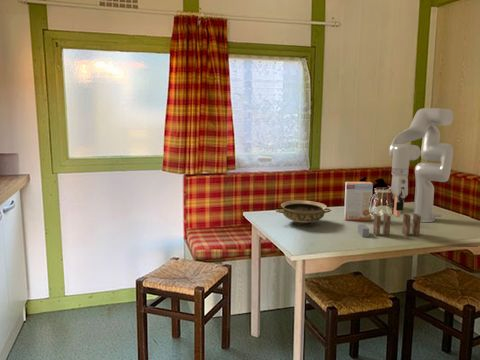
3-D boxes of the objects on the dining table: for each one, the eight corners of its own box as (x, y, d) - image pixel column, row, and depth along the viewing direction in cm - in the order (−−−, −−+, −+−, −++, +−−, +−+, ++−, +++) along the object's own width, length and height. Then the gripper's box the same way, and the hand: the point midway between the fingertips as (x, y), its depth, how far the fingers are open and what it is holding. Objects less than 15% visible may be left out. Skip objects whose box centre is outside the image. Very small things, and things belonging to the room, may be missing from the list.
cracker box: (369, 218, 247) (371, 181, 243) (371, 221, 241) (373, 183, 237) (343, 217, 248) (345, 180, 245) (345, 220, 242) (346, 182, 239)
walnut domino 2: (386, 233, 220) (387, 213, 218) (389, 236, 215) (390, 215, 213) (382, 233, 220) (384, 213, 218) (386, 236, 215) (387, 215, 213)
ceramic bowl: (279, 230, 223) (279, 211, 221) (271, 218, 247) (271, 200, 245) (337, 229, 226) (338, 209, 224) (324, 217, 250) (324, 199, 248)
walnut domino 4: (415, 233, 220) (416, 213, 218) (419, 236, 215) (420, 215, 213) (411, 233, 220) (413, 213, 218) (415, 236, 215) (417, 215, 213)
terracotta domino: (396, 214, 218) (398, 194, 216) (400, 216, 213) (401, 196, 211) (393, 214, 218) (394, 194, 216) (397, 216, 213) (398, 196, 211)
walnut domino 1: (376, 233, 219) (377, 213, 218) (379, 236, 215) (380, 215, 213) (373, 233, 219) (374, 213, 218) (376, 236, 215) (377, 215, 213)
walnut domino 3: (405, 233, 220) (406, 213, 218) (409, 236, 215) (410, 215, 213) (402, 233, 220) (403, 213, 218) (406, 236, 215) (407, 215, 213)
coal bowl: (396, 212, 262) (398, 180, 258) (365, 213, 258) (366, 181, 254) (379, 204, 281) (381, 175, 278) (349, 205, 277) (351, 176, 274)
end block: (364, 232, 221) (364, 224, 220) (368, 236, 213) (369, 228, 212) (357, 232, 221) (358, 224, 220) (362, 236, 213) (362, 228, 212)
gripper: (414, 174, 203) (412, 213, 206) (401, 169, 220) (398, 205, 223) (398, 174, 203) (395, 213, 206) (386, 169, 220) (383, 205, 223)
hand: (397, 208), depth 215 cm, fingers closed on terracotta domino, 4 cm apart
